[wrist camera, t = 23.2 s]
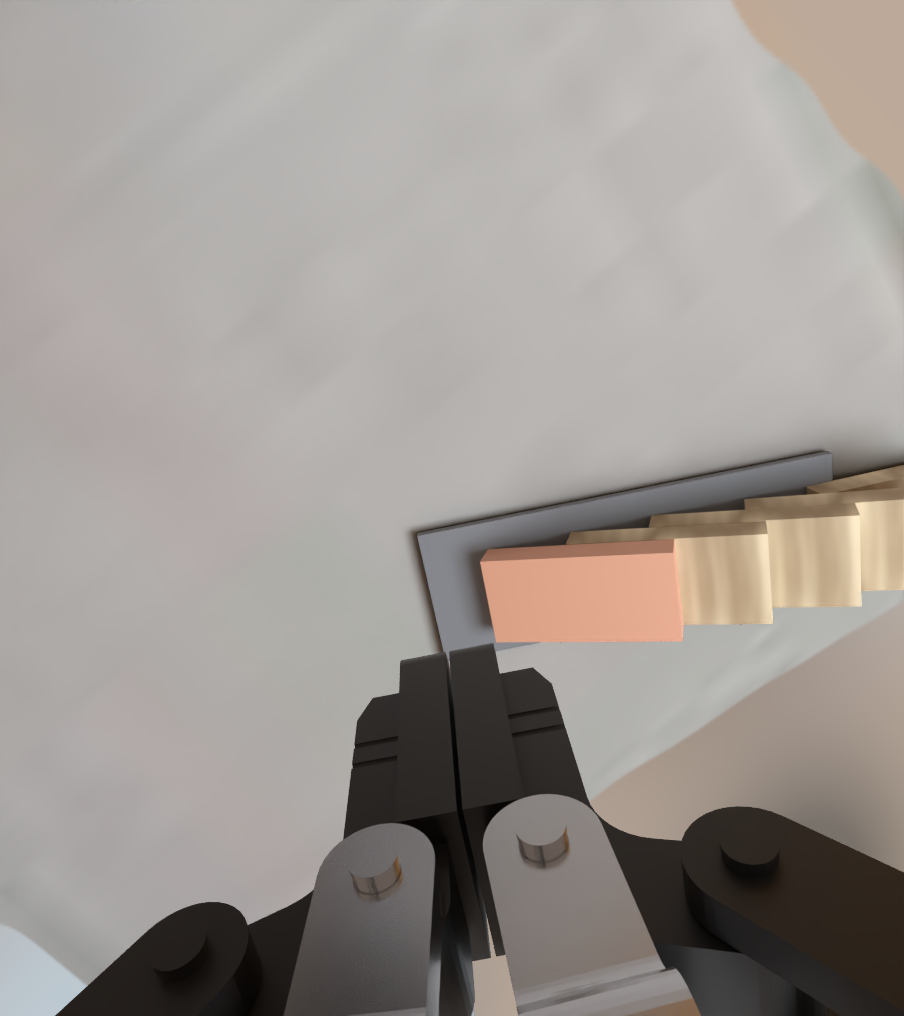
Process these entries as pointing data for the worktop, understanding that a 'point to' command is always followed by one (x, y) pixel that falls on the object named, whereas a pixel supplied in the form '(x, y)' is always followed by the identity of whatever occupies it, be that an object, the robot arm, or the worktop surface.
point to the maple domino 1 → (711, 568)
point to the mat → (463, 546)
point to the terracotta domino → (585, 592)
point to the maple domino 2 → (800, 550)
